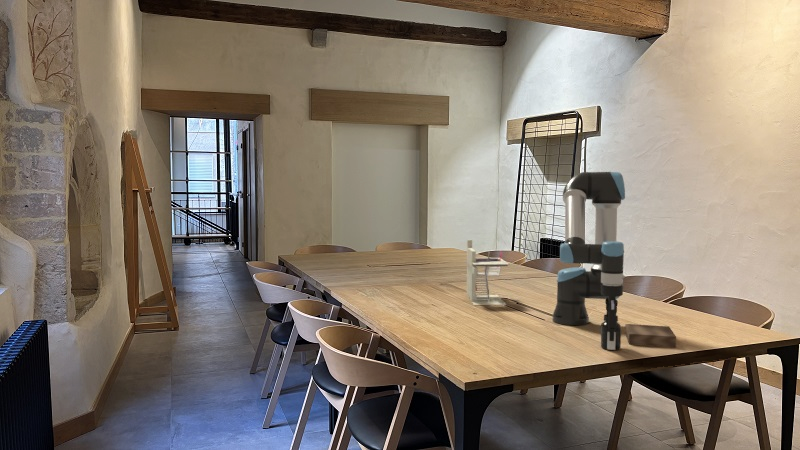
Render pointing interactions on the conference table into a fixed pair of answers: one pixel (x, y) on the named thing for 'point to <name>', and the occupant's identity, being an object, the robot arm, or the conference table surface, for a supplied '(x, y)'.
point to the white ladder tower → (473, 272)
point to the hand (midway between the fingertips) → (610, 346)
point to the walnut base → (650, 335)
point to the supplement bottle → (604, 334)
